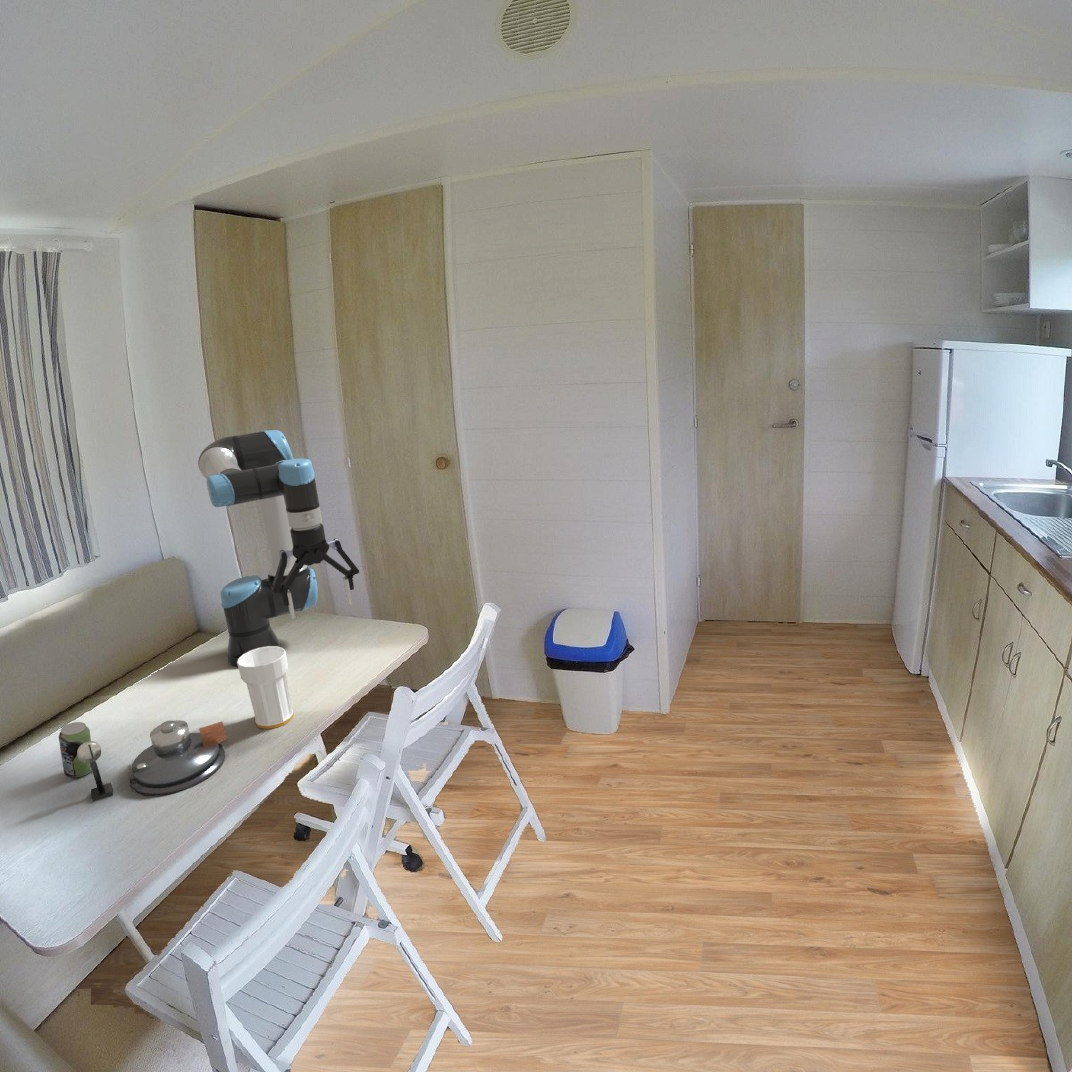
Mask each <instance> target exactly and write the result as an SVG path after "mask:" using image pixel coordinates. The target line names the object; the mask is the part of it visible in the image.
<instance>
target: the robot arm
mask: <svg viewBox="0 0 1072 1072" xmlns="http://www.w3.org/2000/svg"><path fill="white" fill-rule="evenodd" d="M197 465H198V469H199V471H200V473H201V475H202V476H203V478H205V479H206V487H207V490H208V496H209V499H210V502H211V505H212V506H213V507H214V508H222V507H231V506H235V505H240V504H244V503H249V502H254V501H257V503H258V508H259V512H260V518H261V522H262V523H261V524H262V528H263V532H264V536H265V541H266V542H265V543H266V546H267V552H268V557H269V561H270V567H269V568H268V569H267V572H266V573H267V578H264V579H262V578H261V577H260V576H259V575H247V576H242V577H240V578H237V579H235V580H232V581H231V582H228V583H227V584H226V585H224V586H223V587H222V588H221V591H220V600H221V605H220V606H221V607H222V609H223V613H224V619H225V622H226V627H227V628H226V629H227V632H228V644H227V651H226V657H227V661H228V664H229V665H231V666H234V667H238V665H237V661H238V659H239V658H240V657H241V656H242V655H243V654H245V653H247V652H249V651H251V650H254V649H257V648H261V647H267V646H277V647H281V648H282V646H281V645H282V644H281V641H280V639H279V638H278V636H277V635H276V633H275V631H274V630H273V628H272V626H271V623H270V619H274V618H277V617H281V616H285V615H290V618H291V619H292V620H294V619H297V618H296V613H298V612H303V611H304V610H307V609H311V608H313V607H315V606H316V604H317V602H318V593H319V592H318V581H317V576H316V573H315V570H314V569H313V568H309V566H312V565H314V564H316V565H317V564H321V563H322V562H323V561H324V562H325V563H327V564H329V565H330V566H331V567H333V568H334V569H336V571H338V572H339V573H341V574H343V576H342V582H343V587H344V593H345V599H346V602H347V603H348V605H349V606H350V605H353V600H352V593H351V591H352V590H353V591H354V589H355V585H354V580H353V578H354V576H355V575H359V573H360V570H359V568H358V567H357V565H355V563H354V562H353V561H352V560H351V558H350V557H349V556H348V554H347V553H346V551H345V550H344V549H343V547H342V543H341V541H340V540H339V539H338V538H334V539H332V540H331V541H329V542H327V539H326V533H325V528H324V525H323V524H322V523H323V516H322V512H321V507H320V502H319V501H320V500H319V496H318V490H317V489H318V488H317V483H316V477H315V476H316V473H315V471H314V467H313V463H312V461H311V460H310V459H308V458H299V457H298V458H294V456H293V454H292V449H291V448H290V445H289V443H288V440H287V439H286V436H285V434H284V433H282V431H280V430H277V429H274V430H273V429H271V430H261V431H255V432H249V433H243V434H238V435H233V436H232V435H230V436H225V437H222V438H220V439H216V440H215V441H213V442H211V443H210V444H209V445H207V446H206V447H205V448H204V449H203V450H202V451H201V453H200V455H199V457H198V464H197ZM330 548H331V549H332V550H334V551H335V550H336V552H337V553H338V554H339V556H340V557H341V558H342V559H343V561H344V562H345V563H346V564H347V566H348V567H349V568H350V569H349V570H348V569H347V568H346V567H344V566H343V565H342V564H340V563H339V562H337V561H336V560H335V559H334V558H332V557H331V556H330V555H328V551H329V549H330Z"/></svg>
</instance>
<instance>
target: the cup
mask: <svg viewBox="0 0 1072 1072" xmlns="http://www.w3.org/2000/svg"><path fill="white" fill-rule="evenodd" d="M237 665H238V666H237V668H238V671H239V675H240V676H239V677H240V679H241V680H242V682H243V683H245V684H246V686H247V691H248V694H249V698H250V702H251V706H252V710H253V714H254V717H255V719H254V720H255V721H254V722H255V725H256V727H257V728H260V729H265V730H266V729H267V730H271V729H276V728H280V727H282V726H285V725H286V724H287V723H289V722H290V721H291V720H292V719H293V718H294V710H293V708H292V703H291V698H290V692H289V685H288V679H287V673H288V669H289V664H288V659H287V652H286V649H284V648H283V647H282V646H281V647H277V646H267V647H261V648H257V649H254V650H251V651H249V652H247V653H245V654H243V655H242V656H241V657H240V658H239V659H238V661H237Z"/></svg>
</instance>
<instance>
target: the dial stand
mask: <svg viewBox="0 0 1072 1072" xmlns="http://www.w3.org/2000/svg"><path fill="white" fill-rule="evenodd" d="M101 755H102V747H101V745H100V744H99V743H98V742H96V741H92V740H91V741H89V742H85V743H83V744H82V745H81V746H80V747H79V748H78V751H77V756H78V759H79V760H80V761H81V762H83V763H90V766H91V769H92V770H91V772H92V776H93V779H94V782H95V785H96V787H93V788H91V789H90V799H91V802H92V803H95V802H97V801H100V800H104V799H106V798H109V797H112V796H114V789H113V784H112V782H111V781H110V782H108V783H103V780H102V777H101V774H100V770H99V766H98V763H97V760H99V759H100V757H101Z"/></svg>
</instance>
